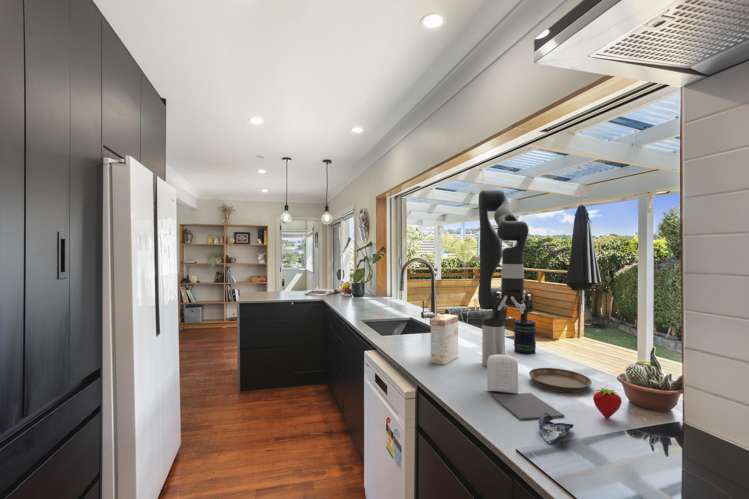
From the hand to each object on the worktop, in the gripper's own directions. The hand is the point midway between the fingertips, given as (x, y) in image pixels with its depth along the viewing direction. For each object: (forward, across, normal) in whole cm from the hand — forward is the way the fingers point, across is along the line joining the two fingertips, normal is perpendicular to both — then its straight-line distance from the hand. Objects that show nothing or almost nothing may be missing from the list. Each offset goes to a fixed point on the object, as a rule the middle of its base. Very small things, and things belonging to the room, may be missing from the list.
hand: (512, 322), depth 135 cm
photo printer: (+23, 0, +6) cm, 24 cm away
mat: (+24, -11, +9) cm, 28 cm away
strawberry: (+24, -30, -3) cm, 39 cm away
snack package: (+25, -26, +19) cm, 41 cm away
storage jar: (+22, +27, -50) cm, 61 cm away
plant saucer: (+24, -7, -19) cm, 31 cm away
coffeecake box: (+23, +40, -8) cm, 47 cm away
